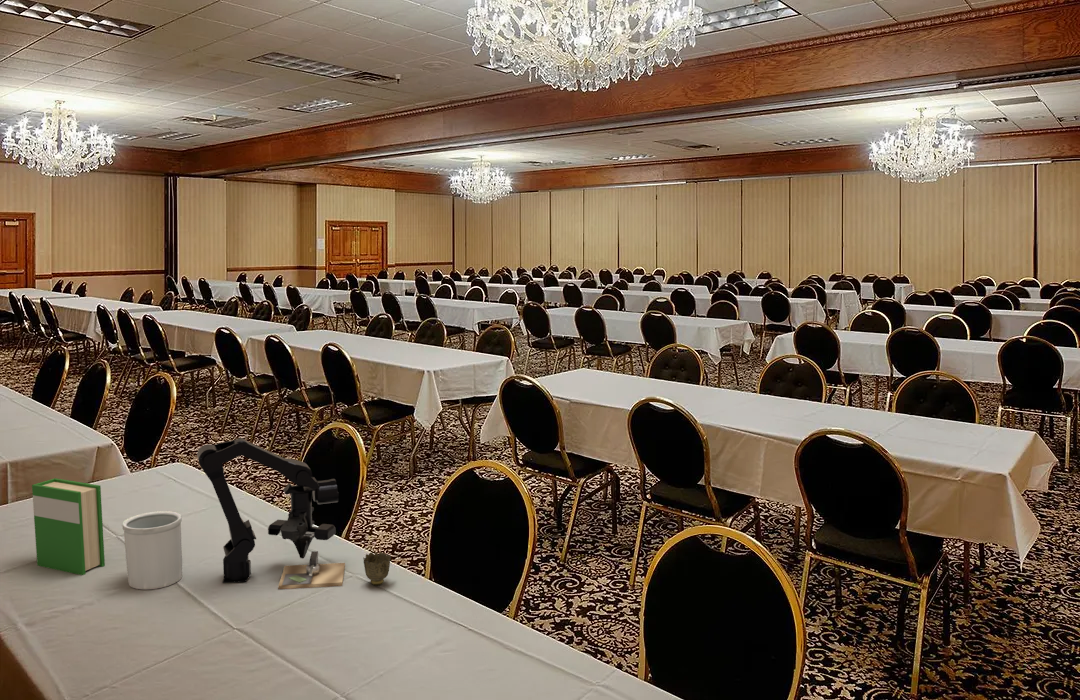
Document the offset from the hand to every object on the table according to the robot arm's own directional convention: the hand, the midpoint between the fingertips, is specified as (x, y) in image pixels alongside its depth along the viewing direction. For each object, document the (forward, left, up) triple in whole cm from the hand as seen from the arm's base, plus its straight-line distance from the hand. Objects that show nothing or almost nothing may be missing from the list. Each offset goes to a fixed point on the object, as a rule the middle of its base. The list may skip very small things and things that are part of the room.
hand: (302, 558), depth 240 cm
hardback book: (-66, +10, -3) cm, 67 cm away
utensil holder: (-40, -3, -3) cm, 40 cm away
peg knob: (+3, -7, -2) cm, 8 cm away
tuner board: (+3, -7, -3) cm, 8 cm away
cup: (+21, -14, -3) cm, 26 cm away
